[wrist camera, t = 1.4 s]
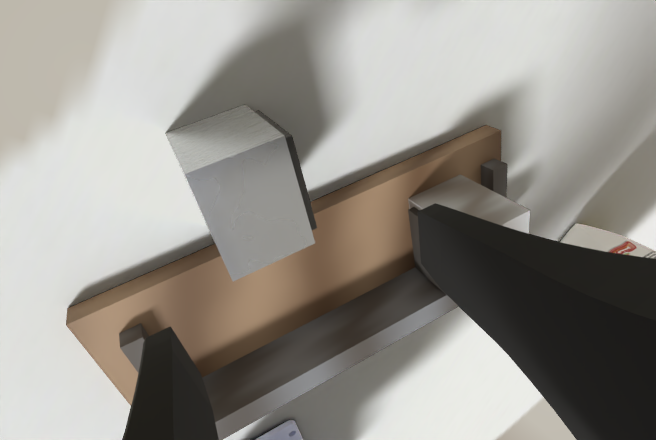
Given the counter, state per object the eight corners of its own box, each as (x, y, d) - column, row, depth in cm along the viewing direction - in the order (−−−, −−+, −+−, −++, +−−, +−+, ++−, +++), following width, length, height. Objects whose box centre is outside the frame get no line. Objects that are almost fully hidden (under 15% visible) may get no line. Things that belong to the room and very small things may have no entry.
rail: (486, 125, 26) (579, 158, 21) (486, 232, 30) (563, 280, 25) (67, 308, 19) (57, 417, 14) (145, 409, 24) (158, 519, 19)
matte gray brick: (281, 192, 22) (323, 239, 18) (206, 224, 21) (232, 281, 17) (253, 101, 19) (294, 131, 15) (164, 132, 18) (184, 174, 14)
